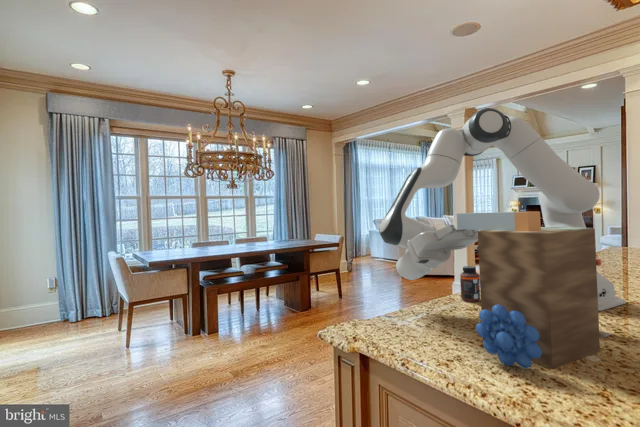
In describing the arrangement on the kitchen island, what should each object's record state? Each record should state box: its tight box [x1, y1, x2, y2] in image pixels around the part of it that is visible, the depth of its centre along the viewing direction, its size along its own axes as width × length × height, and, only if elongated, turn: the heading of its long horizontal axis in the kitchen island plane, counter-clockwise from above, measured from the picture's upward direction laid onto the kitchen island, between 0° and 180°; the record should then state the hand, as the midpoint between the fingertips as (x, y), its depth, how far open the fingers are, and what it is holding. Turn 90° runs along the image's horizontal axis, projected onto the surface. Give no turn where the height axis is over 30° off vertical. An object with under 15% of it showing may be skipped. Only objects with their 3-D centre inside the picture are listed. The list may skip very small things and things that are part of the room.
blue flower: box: [475, 304, 542, 369], centre depth 69 cm, size 12×7×12 cm, turn 52°
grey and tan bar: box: [456, 211, 542, 231], centre depth 82 cm, size 19×4×4 cm, turn 25°
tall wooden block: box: [477, 226, 601, 369], centre depth 78 cm, size 16×16×26 cm
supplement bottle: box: [459, 265, 481, 303], centre depth 119 cm, size 6×6×11 cm
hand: (466, 225), depth 90 cm, fingers open, 8 cm apart
